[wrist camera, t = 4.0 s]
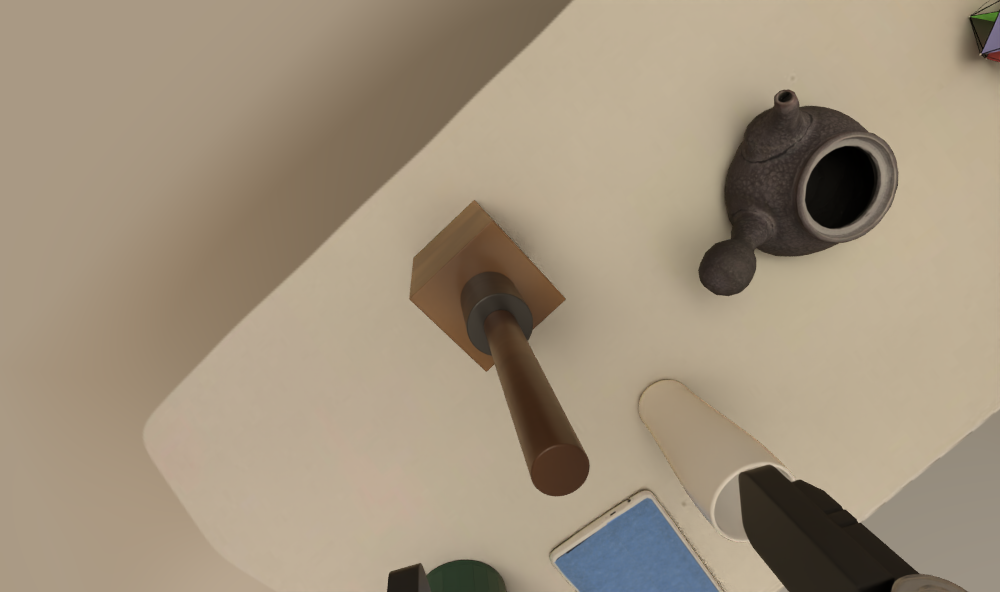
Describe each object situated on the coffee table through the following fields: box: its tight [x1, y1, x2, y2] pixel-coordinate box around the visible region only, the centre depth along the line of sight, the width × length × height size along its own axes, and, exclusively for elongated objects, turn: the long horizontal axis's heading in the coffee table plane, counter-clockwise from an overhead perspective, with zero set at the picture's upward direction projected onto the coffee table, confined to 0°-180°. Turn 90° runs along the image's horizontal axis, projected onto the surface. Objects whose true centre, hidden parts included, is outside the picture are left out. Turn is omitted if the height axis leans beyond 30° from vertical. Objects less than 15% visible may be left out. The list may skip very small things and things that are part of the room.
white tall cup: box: [638, 380, 796, 543], centre depth 43 cm, size 7×7×15 cm
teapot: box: [698, 90, 898, 296], centre depth 41 cm, size 19×15×10 cm
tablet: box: [550, 490, 724, 592], centre depth 55 cm, size 19×13×1 cm, turn 35°
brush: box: [461, 271, 590, 496], centre depth 24 cm, size 4×4×18 cm
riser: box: [409, 200, 566, 371], centre depth 38 cm, size 7×7×12 cm
